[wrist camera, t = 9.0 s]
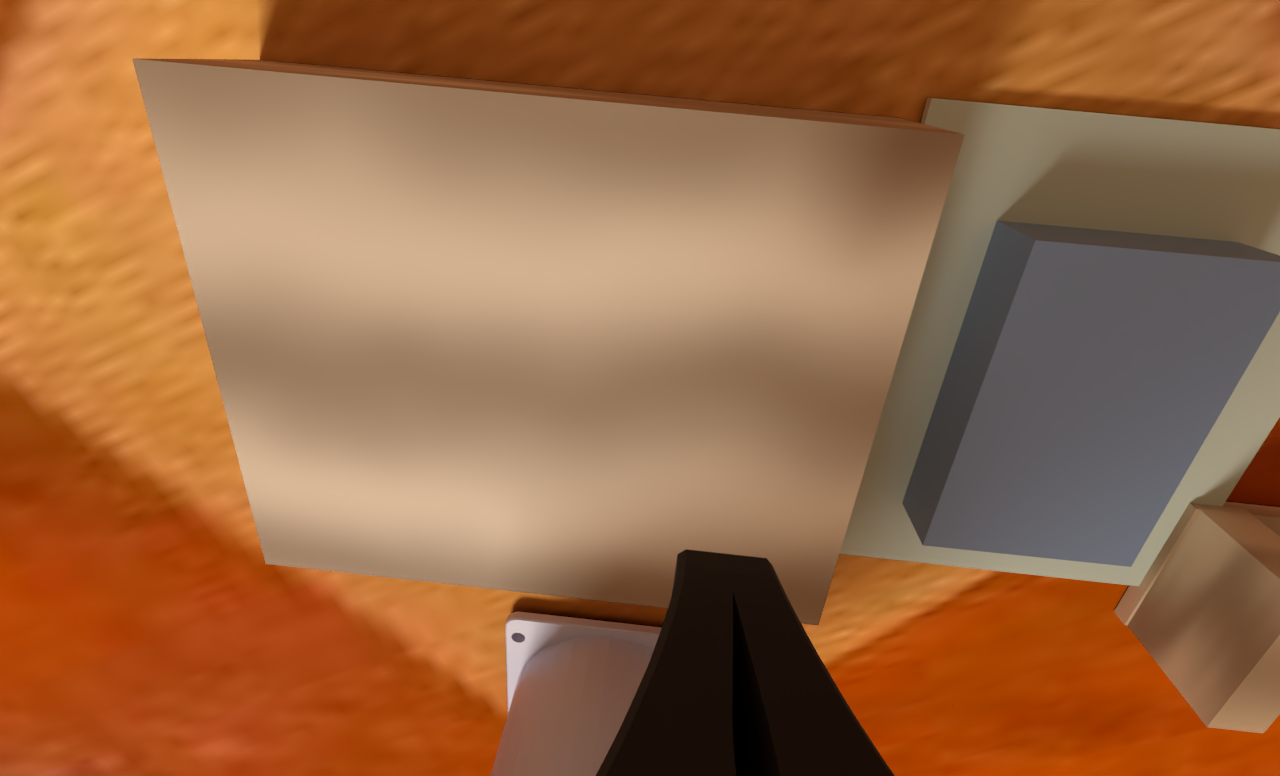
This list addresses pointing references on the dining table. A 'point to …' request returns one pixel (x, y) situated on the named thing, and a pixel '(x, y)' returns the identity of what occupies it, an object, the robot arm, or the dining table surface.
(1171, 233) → the mat
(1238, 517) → the oak rack
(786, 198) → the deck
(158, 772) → the dining table surface
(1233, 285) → the blue-grey rectangular block
